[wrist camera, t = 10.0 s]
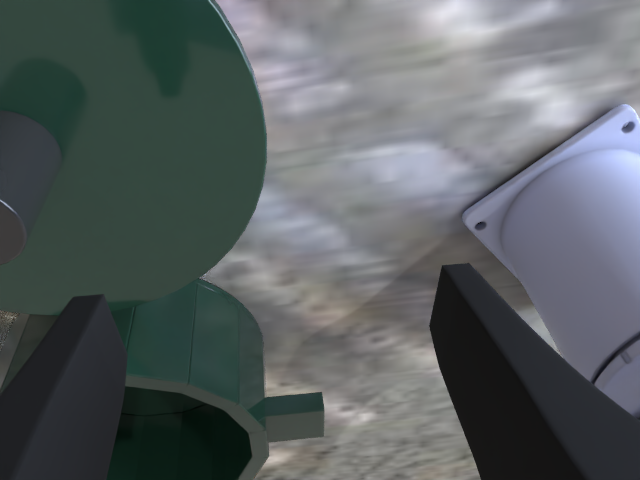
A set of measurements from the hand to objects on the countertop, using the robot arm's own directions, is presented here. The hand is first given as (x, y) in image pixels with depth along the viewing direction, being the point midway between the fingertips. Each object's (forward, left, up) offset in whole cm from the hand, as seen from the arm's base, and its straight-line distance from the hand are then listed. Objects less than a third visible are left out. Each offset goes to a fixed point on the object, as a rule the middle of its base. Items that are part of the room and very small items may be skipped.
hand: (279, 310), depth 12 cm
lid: (+5, +5, -7) cm, 10 cm away
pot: (-6, +15, -10) cm, 19 cm away
